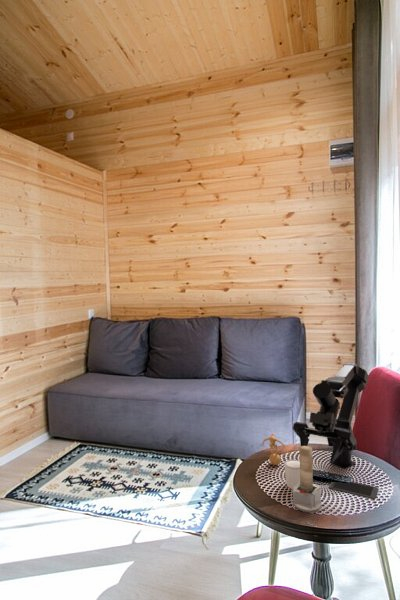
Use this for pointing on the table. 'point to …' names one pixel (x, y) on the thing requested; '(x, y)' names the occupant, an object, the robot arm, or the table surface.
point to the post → (306, 469)
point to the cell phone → (355, 489)
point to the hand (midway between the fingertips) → (316, 459)
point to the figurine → (274, 456)
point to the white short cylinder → (292, 472)
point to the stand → (307, 498)
